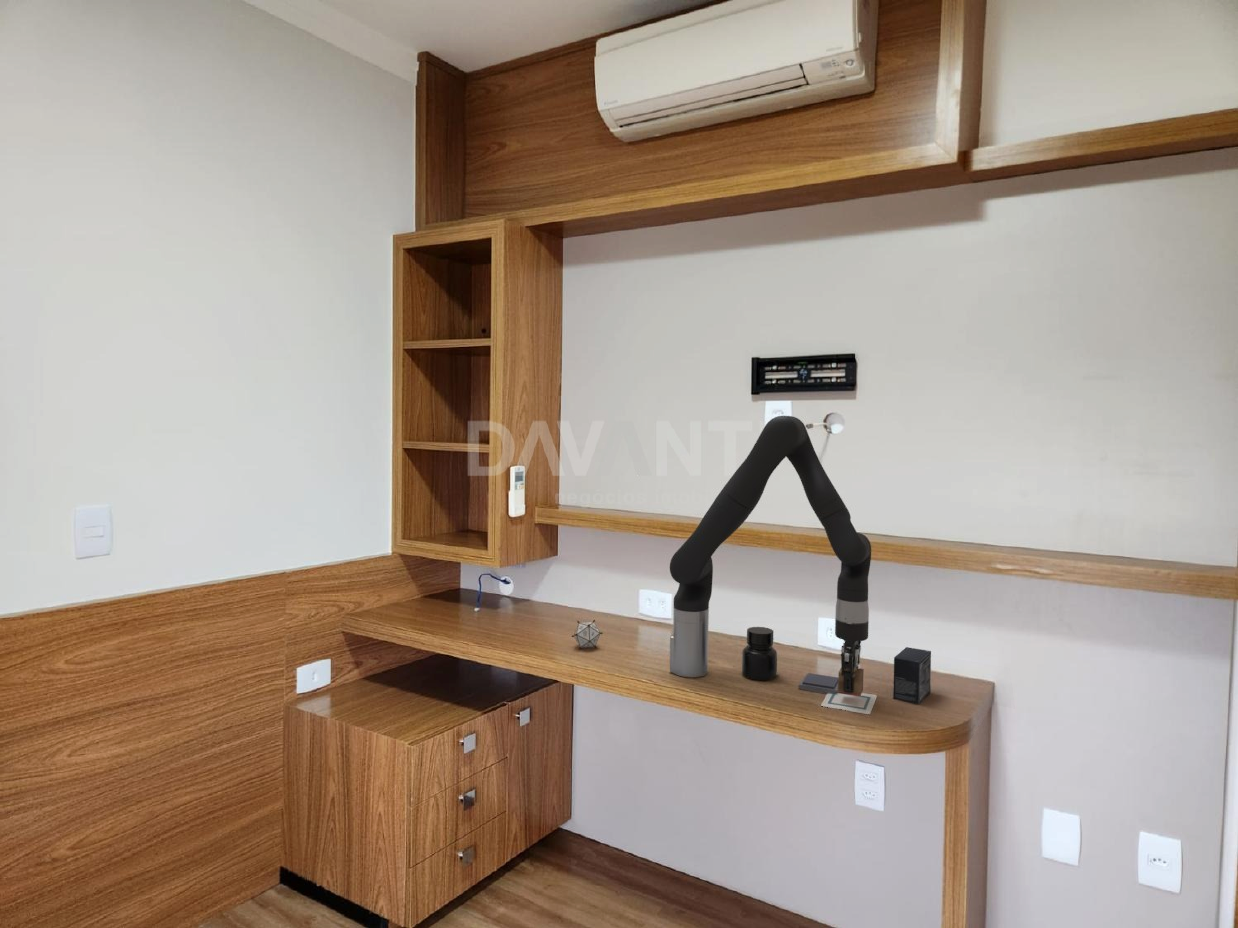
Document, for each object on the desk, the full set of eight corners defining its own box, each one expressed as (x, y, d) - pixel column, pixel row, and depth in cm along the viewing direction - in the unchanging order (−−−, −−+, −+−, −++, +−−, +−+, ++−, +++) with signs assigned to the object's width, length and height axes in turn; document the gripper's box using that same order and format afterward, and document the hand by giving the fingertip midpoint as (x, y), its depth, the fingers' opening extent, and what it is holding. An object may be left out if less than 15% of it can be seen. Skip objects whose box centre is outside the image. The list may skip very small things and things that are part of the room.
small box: (904, 686, 189) (905, 645, 189) (931, 692, 185) (932, 650, 185) (891, 698, 181) (892, 655, 180) (919, 705, 177) (921, 661, 176)
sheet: (820, 706, 175) (820, 705, 175) (830, 688, 187) (830, 687, 187) (870, 714, 170) (870, 713, 170) (876, 696, 182) (876, 694, 182)
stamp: (838, 692, 177) (838, 663, 177) (841, 686, 182) (842, 657, 181) (860, 696, 175) (860, 666, 175) (863, 689, 180) (863, 660, 179)
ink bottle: (784, 675, 196) (785, 630, 196) (766, 684, 190) (767, 637, 189) (752, 667, 203) (753, 623, 202) (734, 675, 196) (735, 630, 195)
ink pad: (798, 689, 186) (799, 682, 186) (806, 678, 194) (806, 671, 194) (836, 695, 182) (836, 688, 182) (842, 683, 190) (842, 677, 190)
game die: (589, 658, 220) (605, 628, 224) (595, 656, 212) (611, 625, 216) (563, 643, 220) (579, 613, 223) (567, 641, 212) (584, 610, 216)
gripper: (840, 609, 186) (839, 676, 186) (830, 622, 173) (828, 695, 174) (872, 612, 182) (870, 681, 183) (864, 627, 169) (862, 700, 170)
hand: (850, 687), depth 178 cm, fingers closed on stamp, 5 cm apart
